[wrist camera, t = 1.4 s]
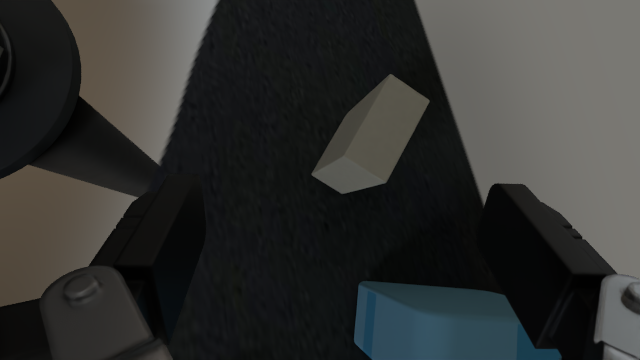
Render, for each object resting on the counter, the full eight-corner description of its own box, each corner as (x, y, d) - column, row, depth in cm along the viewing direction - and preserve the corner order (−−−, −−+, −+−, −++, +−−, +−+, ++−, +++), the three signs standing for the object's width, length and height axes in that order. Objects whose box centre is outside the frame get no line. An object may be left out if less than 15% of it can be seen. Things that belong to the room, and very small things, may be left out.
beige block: (310, 174, 31) (343, 156, 23) (346, 113, 33) (390, 73, 24) (342, 194, 32) (386, 183, 23) (376, 133, 33) (430, 100, 24)
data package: (347, 338, 31) (421, 408, 19) (353, 279, 31) (427, 312, 20) (484, 345, 33) (622, 410, 22) (486, 290, 34) (622, 325, 22)
